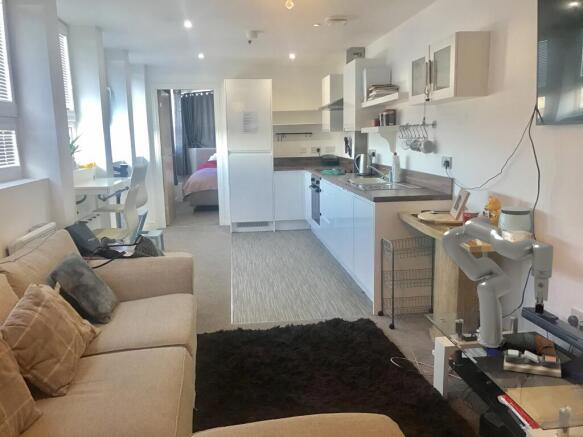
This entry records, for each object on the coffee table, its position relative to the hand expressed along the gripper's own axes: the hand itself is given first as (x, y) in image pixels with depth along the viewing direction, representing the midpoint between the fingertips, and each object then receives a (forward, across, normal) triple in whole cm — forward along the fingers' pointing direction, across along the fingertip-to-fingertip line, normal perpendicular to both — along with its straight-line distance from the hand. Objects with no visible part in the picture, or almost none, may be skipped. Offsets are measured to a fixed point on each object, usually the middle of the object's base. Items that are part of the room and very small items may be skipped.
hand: (539, 312), depth 195 cm
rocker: (+18, -7, +2) cm, 19 cm away
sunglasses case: (+23, +10, -4) cm, 25 cm away
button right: (+19, -7, -5) cm, 21 cm away
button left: (+19, -8, +9) cm, 22 cm away
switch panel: (+22, -7, +2) cm, 23 cm away
